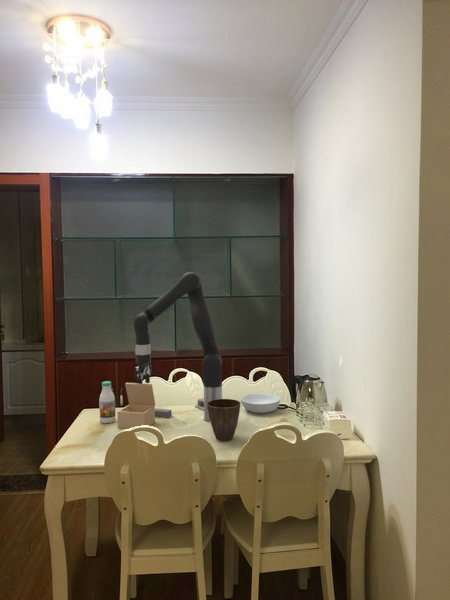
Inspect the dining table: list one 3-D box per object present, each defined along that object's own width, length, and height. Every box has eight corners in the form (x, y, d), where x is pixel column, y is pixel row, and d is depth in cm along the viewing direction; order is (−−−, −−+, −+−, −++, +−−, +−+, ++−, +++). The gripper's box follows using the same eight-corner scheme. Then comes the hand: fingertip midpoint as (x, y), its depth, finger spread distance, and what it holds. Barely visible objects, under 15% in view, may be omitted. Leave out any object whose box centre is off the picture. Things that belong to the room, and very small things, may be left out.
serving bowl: (233, 412, 254) (233, 399, 254) (254, 403, 272) (254, 391, 271) (267, 419, 243) (267, 405, 242) (287, 408, 260) (287, 396, 259)
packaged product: (194, 399, 266) (209, 396, 271) (194, 407, 266) (209, 404, 272) (212, 406, 251) (227, 403, 257) (212, 415, 251) (227, 412, 257)
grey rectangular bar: (171, 416, 250) (171, 409, 250) (168, 418, 247) (167, 412, 246) (147, 414, 255) (147, 407, 255) (143, 416, 251) (143, 409, 251)
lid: (154, 406, 240) (155, 405, 241) (151, 385, 236) (151, 384, 237) (129, 404, 244) (130, 403, 245) (125, 383, 240) (126, 382, 241)
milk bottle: (96, 421, 243) (95, 382, 242) (110, 417, 249) (108, 379, 247) (105, 424, 238) (104, 384, 237) (118, 420, 244) (117, 381, 242)
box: (155, 422, 240) (154, 406, 240) (144, 430, 229) (144, 413, 228) (129, 420, 244) (129, 404, 244) (117, 427, 233) (117, 411, 232)
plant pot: (207, 433, 223) (206, 399, 222) (239, 432, 224) (238, 398, 223) (208, 445, 208) (207, 408, 207) (242, 443, 209) (242, 407, 208)
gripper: (143, 355, 235) (144, 388, 237) (155, 350, 249) (156, 381, 250) (129, 355, 238) (130, 387, 239) (142, 350, 251) (143, 381, 252)
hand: (144, 384), depth 244 cm, fingers open, 8 cm apart
